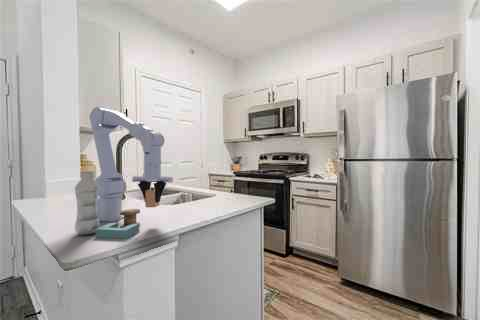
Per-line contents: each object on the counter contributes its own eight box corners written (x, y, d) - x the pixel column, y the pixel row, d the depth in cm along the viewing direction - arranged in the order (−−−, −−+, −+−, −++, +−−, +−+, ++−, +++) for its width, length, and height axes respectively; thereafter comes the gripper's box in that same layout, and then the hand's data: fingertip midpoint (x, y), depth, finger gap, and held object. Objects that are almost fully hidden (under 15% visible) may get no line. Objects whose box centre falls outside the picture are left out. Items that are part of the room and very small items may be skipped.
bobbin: (115, 229, 75) (115, 212, 75) (127, 223, 82) (127, 208, 82) (133, 230, 75) (133, 213, 75) (143, 224, 81) (143, 209, 81)
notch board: (95, 237, 68) (95, 229, 68) (111, 229, 75) (111, 222, 75) (126, 238, 67) (126, 230, 67) (138, 231, 74) (138, 223, 74)
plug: (145, 207, 80) (145, 188, 79) (150, 205, 83) (150, 187, 83) (154, 207, 79) (154, 188, 79) (159, 205, 83) (159, 187, 83)
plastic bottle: (88, 238, 67) (88, 172, 67) (69, 236, 69) (69, 172, 68) (104, 231, 74) (104, 171, 74) (87, 229, 75) (87, 171, 75)
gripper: (127, 165, 78) (127, 203, 78) (166, 165, 76) (166, 204, 76) (138, 164, 85) (138, 199, 85) (174, 164, 83) (174, 200, 83)
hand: (152, 201), depth 81 cm, fingers closed on plug, 3 cm apart
